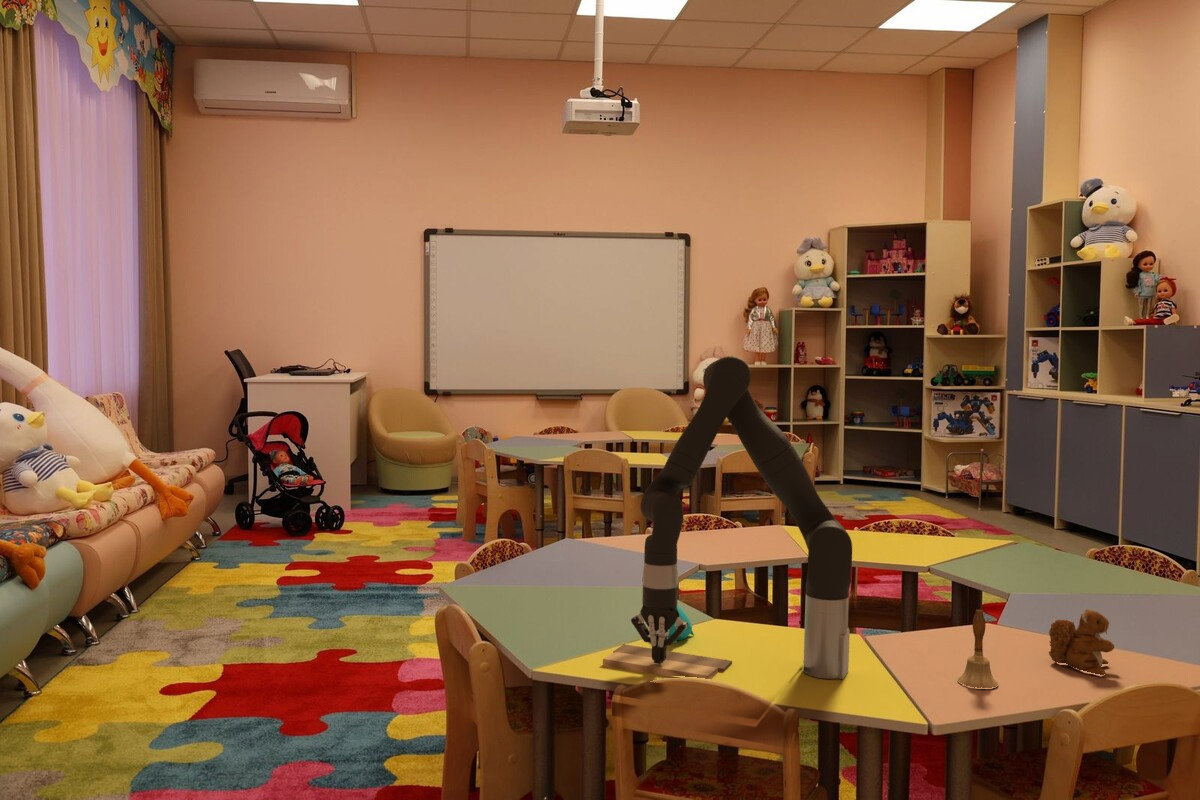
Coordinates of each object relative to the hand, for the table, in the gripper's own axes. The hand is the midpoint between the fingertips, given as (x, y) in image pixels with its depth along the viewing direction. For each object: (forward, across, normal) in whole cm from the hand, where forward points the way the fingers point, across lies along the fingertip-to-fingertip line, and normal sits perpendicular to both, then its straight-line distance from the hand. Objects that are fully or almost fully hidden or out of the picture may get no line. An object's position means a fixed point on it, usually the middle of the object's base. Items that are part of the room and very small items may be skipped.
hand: (658, 662), depth 219 cm
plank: (+3, 0, -1) cm, 3 cm away
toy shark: (+3, +5, -24) cm, 24 cm away
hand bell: (+3, -63, -26) cm, 68 cm away
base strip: (+3, 0, -9) cm, 9 cm away
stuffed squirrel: (+3, -83, -49) cm, 96 cm away
